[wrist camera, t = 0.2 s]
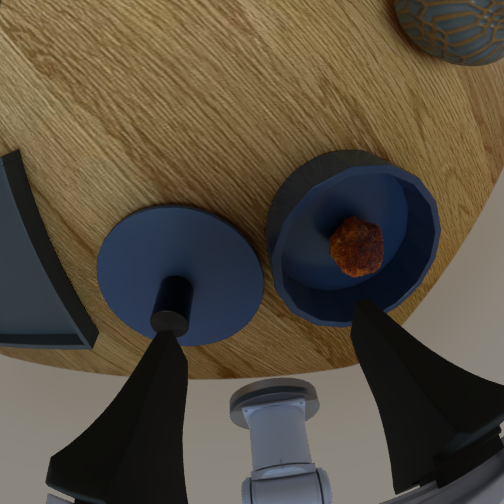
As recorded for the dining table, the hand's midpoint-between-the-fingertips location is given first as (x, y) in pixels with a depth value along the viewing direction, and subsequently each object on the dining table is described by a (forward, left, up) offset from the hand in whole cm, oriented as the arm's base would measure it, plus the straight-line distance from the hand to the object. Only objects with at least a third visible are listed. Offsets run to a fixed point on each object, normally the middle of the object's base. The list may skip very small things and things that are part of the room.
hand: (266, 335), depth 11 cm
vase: (+14, -13, -9) cm, 21 cm away
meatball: (-1, -6, -9) cm, 11 cm away
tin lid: (-3, +6, -8) cm, 10 cm away
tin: (-1, -6, -9) cm, 11 cm away
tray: (+1, +24, -9) cm, 25 cm away
